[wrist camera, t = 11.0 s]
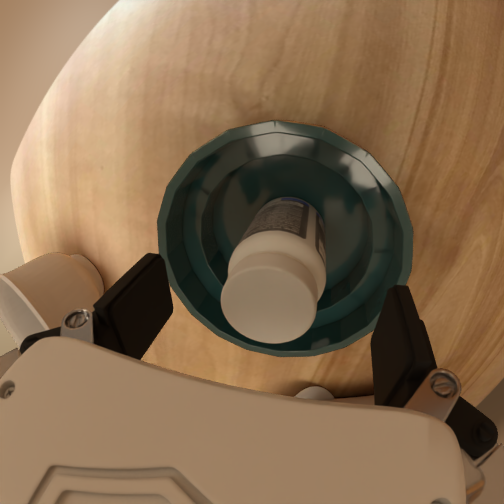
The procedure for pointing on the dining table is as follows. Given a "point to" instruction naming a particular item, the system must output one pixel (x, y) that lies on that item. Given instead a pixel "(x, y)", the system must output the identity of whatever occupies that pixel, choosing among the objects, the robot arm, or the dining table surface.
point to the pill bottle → (277, 273)
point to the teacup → (47, 293)
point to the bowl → (276, 186)
